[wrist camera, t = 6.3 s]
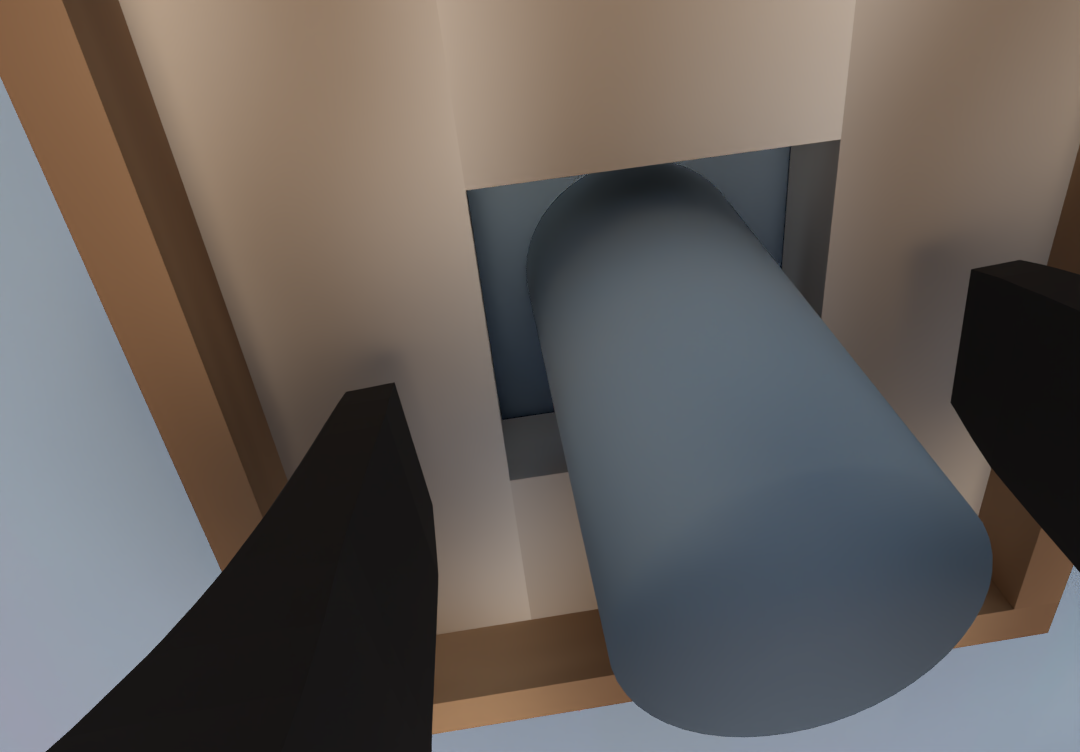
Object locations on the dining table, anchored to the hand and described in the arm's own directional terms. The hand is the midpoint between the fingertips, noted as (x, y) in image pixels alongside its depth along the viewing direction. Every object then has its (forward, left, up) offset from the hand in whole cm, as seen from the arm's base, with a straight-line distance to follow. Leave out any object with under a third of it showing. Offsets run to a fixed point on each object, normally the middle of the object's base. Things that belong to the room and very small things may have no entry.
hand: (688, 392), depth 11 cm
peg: (0, 0, -3) cm, 3 cm away
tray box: (0, 0, -3) cm, 3 cm away
